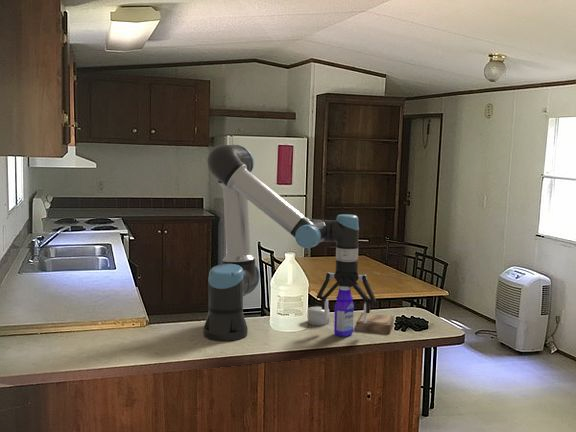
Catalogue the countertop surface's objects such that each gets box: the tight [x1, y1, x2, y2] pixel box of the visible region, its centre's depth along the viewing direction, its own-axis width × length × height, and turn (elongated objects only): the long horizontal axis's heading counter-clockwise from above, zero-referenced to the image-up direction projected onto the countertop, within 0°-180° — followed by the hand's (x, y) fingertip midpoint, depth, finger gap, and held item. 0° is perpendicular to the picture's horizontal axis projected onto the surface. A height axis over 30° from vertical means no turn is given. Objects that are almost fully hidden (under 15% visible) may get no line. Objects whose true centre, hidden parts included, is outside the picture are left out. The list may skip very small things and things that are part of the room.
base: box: [355, 312, 395, 334], centre depth 219 cm, size 12×12×3 cm
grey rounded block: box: [307, 306, 330, 326], centre depth 223 cm, size 8×8×5 cm
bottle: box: [333, 285, 355, 338], centre depth 208 cm, size 7×6×17 cm
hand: (345, 320), depth 208 cm, fingers open, 13 cm apart
